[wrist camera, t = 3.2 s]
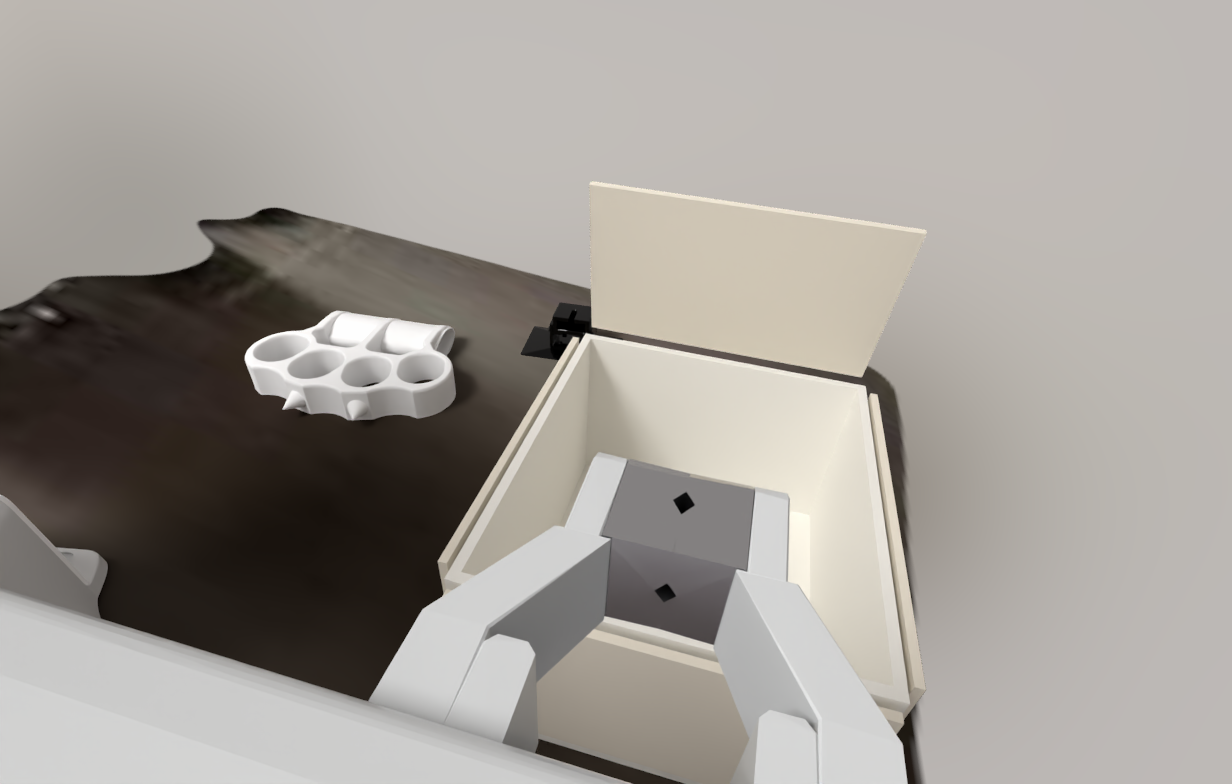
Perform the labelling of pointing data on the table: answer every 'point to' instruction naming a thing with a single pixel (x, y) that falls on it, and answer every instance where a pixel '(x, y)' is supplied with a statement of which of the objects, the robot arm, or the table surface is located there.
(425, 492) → the table surface
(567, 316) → the black angular piece
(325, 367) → the spiked knuckle duster
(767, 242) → the carton flap
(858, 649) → the carton
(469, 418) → the table surface
